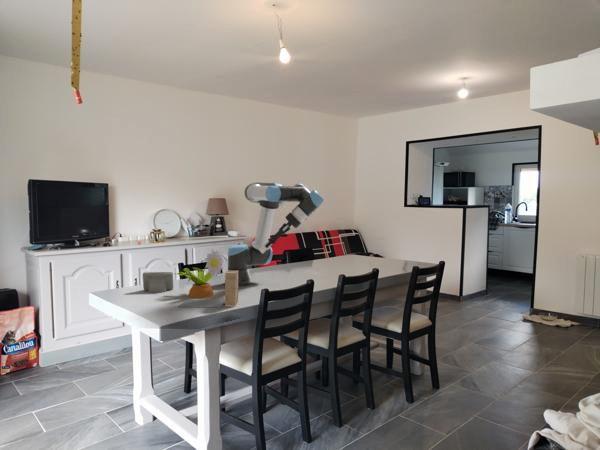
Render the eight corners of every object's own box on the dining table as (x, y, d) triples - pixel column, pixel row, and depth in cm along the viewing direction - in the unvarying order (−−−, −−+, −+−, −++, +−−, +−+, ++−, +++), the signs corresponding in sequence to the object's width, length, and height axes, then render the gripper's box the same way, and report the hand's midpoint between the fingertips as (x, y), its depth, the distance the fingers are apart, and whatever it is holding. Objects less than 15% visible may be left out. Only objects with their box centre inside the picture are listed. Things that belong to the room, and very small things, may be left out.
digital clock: (175, 289, 241) (174, 270, 240) (169, 292, 232) (169, 273, 231) (146, 288, 241) (146, 270, 240) (140, 292, 232) (139, 272, 231)
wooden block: (227, 302, 211) (228, 270, 210) (238, 302, 211) (238, 270, 210) (225, 306, 204) (225, 272, 203) (235, 306, 204) (235, 273, 203)
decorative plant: (200, 302, 210) (201, 252, 209) (165, 296, 222) (165, 248, 221) (234, 292, 234) (235, 247, 232) (201, 287, 246) (201, 244, 244)
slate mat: (186, 300, 214) (186, 299, 214) (225, 301, 214) (225, 300, 214) (178, 307, 201) (178, 306, 201) (220, 307, 201) (220, 307, 201)
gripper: (301, 223, 196) (265, 259, 197) (302, 222, 213) (268, 254, 215) (289, 212, 196) (253, 247, 197) (291, 211, 213) (258, 243, 214)
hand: (261, 251), depth 206 cm, fingers open, 4 cm apart
